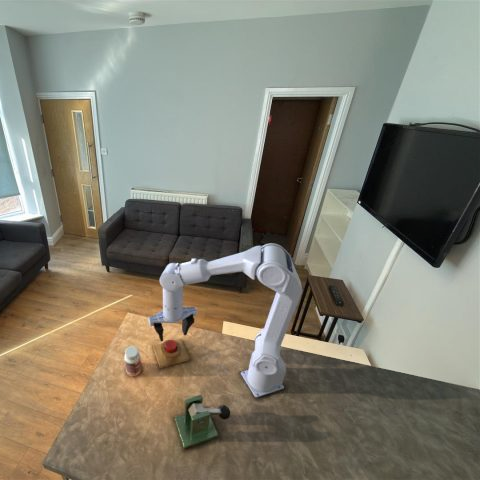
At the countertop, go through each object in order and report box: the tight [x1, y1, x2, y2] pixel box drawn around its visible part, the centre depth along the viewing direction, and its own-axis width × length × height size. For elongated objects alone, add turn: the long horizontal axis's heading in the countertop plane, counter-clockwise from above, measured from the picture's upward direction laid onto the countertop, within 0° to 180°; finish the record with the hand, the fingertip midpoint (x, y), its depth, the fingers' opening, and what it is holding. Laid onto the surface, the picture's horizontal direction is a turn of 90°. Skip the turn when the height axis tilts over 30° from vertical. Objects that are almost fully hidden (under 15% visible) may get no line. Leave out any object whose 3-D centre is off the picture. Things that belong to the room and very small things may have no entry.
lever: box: [188, 403, 231, 421], centre depth 65 cm, size 12×3×3 cm, turn 107°
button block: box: [152, 338, 191, 369], centre depth 86 cm, size 10×8×3 cm
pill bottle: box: [124, 345, 142, 377], centre depth 80 cm, size 5×5×8 cm
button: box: [165, 339, 176, 353], centre depth 85 cm, size 4×4×2 cm
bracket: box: [174, 394, 219, 450], centre depth 65 cm, size 9×7×9 cm
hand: (172, 335), depth 81 cm, fingers open, 7 cm apart
